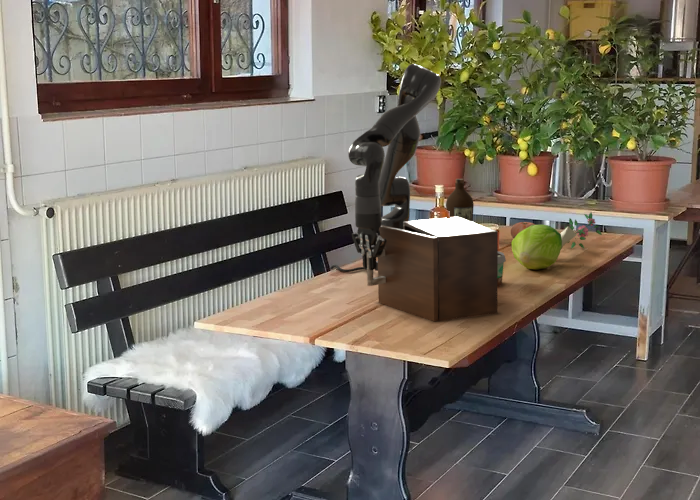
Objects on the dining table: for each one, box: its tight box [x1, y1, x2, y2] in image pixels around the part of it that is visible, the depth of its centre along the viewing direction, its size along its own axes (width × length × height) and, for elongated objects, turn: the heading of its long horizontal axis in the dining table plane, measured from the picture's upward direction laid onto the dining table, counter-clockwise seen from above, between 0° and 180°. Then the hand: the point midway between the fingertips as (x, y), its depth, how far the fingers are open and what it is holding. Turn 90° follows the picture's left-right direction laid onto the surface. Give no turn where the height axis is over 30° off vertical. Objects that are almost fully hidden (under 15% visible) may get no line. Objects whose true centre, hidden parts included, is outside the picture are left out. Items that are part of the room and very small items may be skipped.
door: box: [366, 225, 439, 322], centre depth 267 cm, size 7×26×24 cm, turn 35°
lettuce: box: [511, 223, 563, 271], centre depth 317 cm, size 17×20×15 cm
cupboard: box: [403, 217, 499, 322], centre depth 273 cm, size 18×26×24 cm
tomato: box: [510, 221, 536, 240], centre depth 362 cm, size 11×11×8 cm
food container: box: [497, 250, 507, 288], centre depth 298 cm, size 12×6×10 cm, turn 168°
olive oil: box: [445, 178, 475, 222], centre depth 361 cm, size 11×11×25 cm
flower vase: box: [559, 211, 603, 250], centre depth 342 cm, size 12×12×35 cm
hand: (369, 268), depth 273 cm, fingers closed on door, 2 cm apart
